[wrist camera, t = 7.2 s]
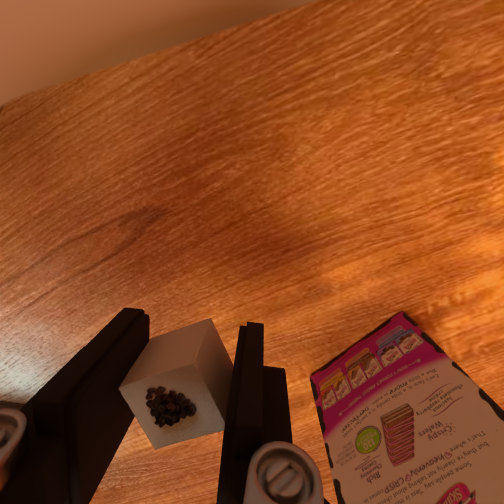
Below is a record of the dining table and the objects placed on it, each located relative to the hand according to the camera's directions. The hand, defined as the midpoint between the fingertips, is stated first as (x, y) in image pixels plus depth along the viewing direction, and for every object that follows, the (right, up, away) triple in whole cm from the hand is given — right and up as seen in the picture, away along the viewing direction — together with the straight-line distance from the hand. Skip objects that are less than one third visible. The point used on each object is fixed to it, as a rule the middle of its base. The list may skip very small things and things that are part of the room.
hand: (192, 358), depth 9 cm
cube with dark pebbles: (0, 0, 0) cm, 0 cm away
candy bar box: (+13, -7, +19) cm, 24 cm away
